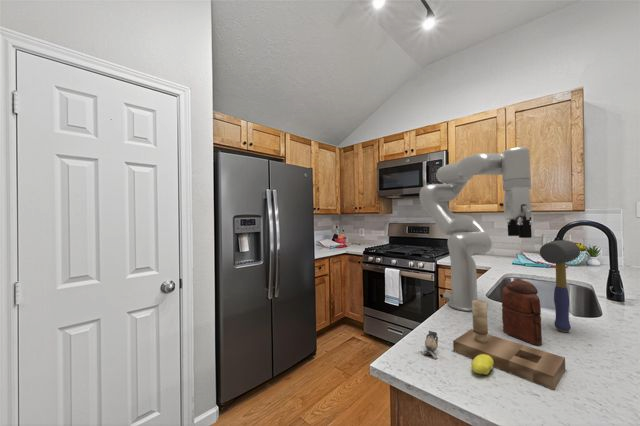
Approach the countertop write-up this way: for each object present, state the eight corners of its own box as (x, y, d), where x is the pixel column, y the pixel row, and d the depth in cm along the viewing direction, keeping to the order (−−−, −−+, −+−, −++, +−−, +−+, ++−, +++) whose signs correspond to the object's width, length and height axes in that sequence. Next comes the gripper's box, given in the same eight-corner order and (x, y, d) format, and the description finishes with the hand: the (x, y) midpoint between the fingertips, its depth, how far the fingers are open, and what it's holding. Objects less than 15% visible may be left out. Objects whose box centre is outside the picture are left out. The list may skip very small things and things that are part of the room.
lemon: (499, 370, 66) (498, 354, 66) (483, 381, 62) (483, 365, 62) (481, 362, 70) (481, 347, 70) (465, 373, 65) (465, 357, 65)
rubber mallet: (569, 340, 80) (566, 242, 81) (540, 331, 87) (537, 240, 87) (585, 330, 86) (582, 240, 87) (556, 322, 93) (553, 238, 93)
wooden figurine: (550, 343, 79) (548, 283, 79) (538, 347, 76) (536, 286, 77) (509, 328, 90) (508, 275, 90) (497, 331, 87) (495, 277, 87)
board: (453, 351, 75) (453, 340, 76) (471, 338, 83) (471, 329, 83) (554, 389, 58) (553, 376, 58) (565, 369, 66) (564, 357, 66)
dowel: (471, 340, 76) (470, 302, 76) (476, 336, 78) (475, 299, 78) (485, 344, 73) (483, 305, 73) (490, 340, 75) (488, 302, 75)
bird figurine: (425, 346, 79) (426, 326, 79) (444, 354, 75) (445, 333, 75) (417, 352, 75) (418, 332, 75) (436, 361, 71) (437, 339, 71)
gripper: (495, 189, 97) (497, 235, 96) (512, 182, 80) (515, 238, 80) (519, 187, 94) (522, 235, 94) (542, 181, 78) (545, 238, 77)
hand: (519, 236), depth 87 cm, fingers open, 9 cm apart
